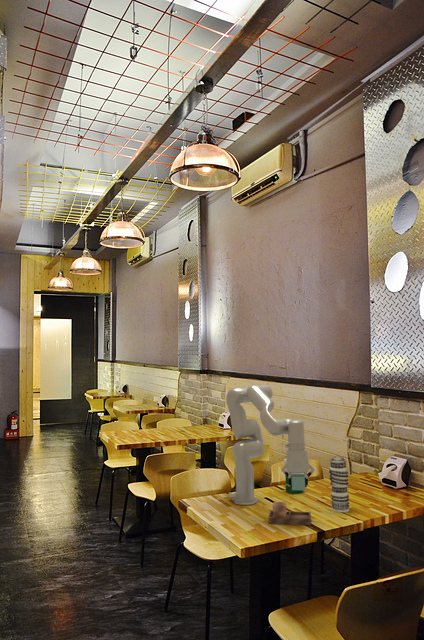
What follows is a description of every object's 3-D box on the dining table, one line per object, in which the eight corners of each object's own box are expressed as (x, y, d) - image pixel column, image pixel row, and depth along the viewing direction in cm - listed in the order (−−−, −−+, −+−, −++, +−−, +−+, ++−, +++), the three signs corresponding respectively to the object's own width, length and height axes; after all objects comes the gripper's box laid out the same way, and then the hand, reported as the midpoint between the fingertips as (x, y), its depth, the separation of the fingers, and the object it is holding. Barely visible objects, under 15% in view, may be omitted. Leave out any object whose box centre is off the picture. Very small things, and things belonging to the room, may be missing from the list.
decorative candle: (327, 509, 230) (324, 457, 233) (337, 505, 237) (334, 454, 239) (344, 513, 224) (341, 460, 226) (353, 509, 230) (350, 457, 233)
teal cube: (292, 490, 214) (291, 476, 215) (292, 486, 220) (291, 473, 221) (305, 490, 213) (304, 476, 214) (305, 486, 219) (304, 473, 220)
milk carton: (305, 492, 261) (303, 456, 263) (292, 495, 257) (290, 457, 259) (296, 489, 269) (294, 453, 271) (283, 491, 265) (281, 455, 267)
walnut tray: (268, 523, 213) (268, 506, 214) (270, 516, 223) (269, 500, 224) (311, 525, 210) (310, 508, 210) (310, 517, 219) (310, 501, 220)
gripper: (277, 448, 216) (279, 488, 215) (315, 448, 213) (318, 489, 212) (278, 445, 224) (280, 484, 222) (315, 445, 221) (317, 484, 219)
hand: (298, 486), depth 217 cm, fingers closed on teal cube, 6 cm apart
